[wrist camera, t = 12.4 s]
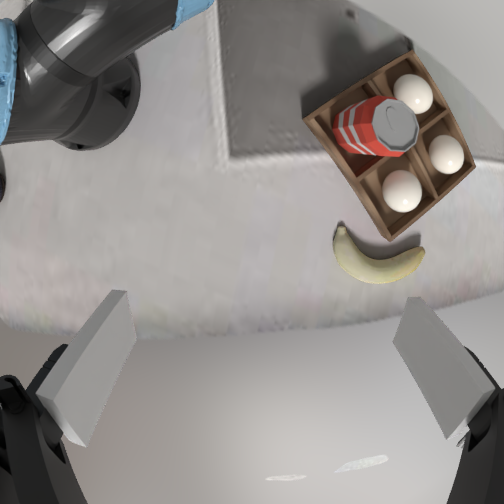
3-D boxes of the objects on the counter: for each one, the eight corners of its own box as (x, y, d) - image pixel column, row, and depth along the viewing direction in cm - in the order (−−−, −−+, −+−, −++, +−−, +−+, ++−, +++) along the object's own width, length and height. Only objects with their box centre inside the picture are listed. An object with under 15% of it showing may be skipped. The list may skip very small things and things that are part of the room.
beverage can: (364, 102, 31) (410, 87, 19) (380, 146, 33) (430, 150, 22) (324, 113, 31) (357, 99, 20) (341, 159, 34) (380, 166, 22)
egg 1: (379, 88, 30) (398, 80, 25) (404, 72, 28) (424, 64, 23) (401, 122, 31) (422, 120, 26) (425, 104, 30) (447, 101, 25)
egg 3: (415, 146, 32) (437, 147, 27) (438, 128, 31) (460, 128, 26) (431, 178, 34) (454, 184, 29) (453, 159, 33) (476, 163, 27)
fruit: (404, 284, 41) (413, 293, 38) (323, 270, 40) (328, 280, 37) (419, 243, 39) (430, 251, 36) (336, 223, 38) (344, 230, 35)
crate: (302, 119, 32) (306, 116, 29) (402, 54, 28) (412, 49, 25) (381, 235, 38) (390, 242, 35) (464, 164, 33) (476, 166, 30)
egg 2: (368, 182, 35) (386, 188, 29) (396, 160, 33) (417, 163, 28) (387, 214, 36) (406, 225, 31) (414, 192, 35) (435, 200, 30)
